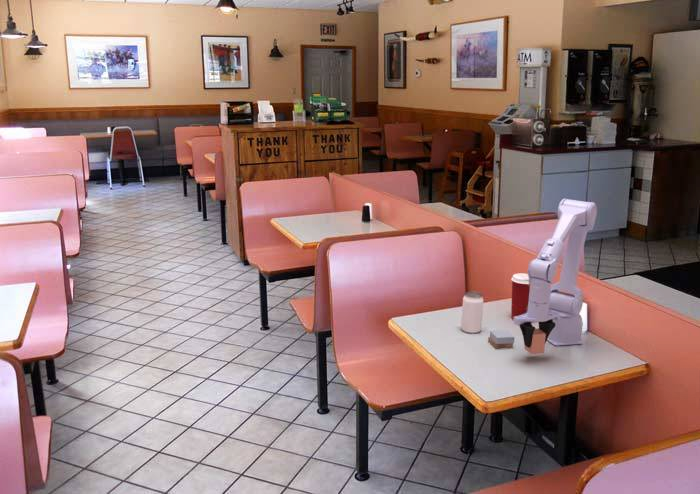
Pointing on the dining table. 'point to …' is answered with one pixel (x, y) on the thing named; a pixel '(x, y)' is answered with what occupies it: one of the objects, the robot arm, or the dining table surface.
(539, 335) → the brick block
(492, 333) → the tower upper
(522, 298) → the coffee cup
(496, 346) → the tower lower
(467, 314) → the can
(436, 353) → the dining table surface
